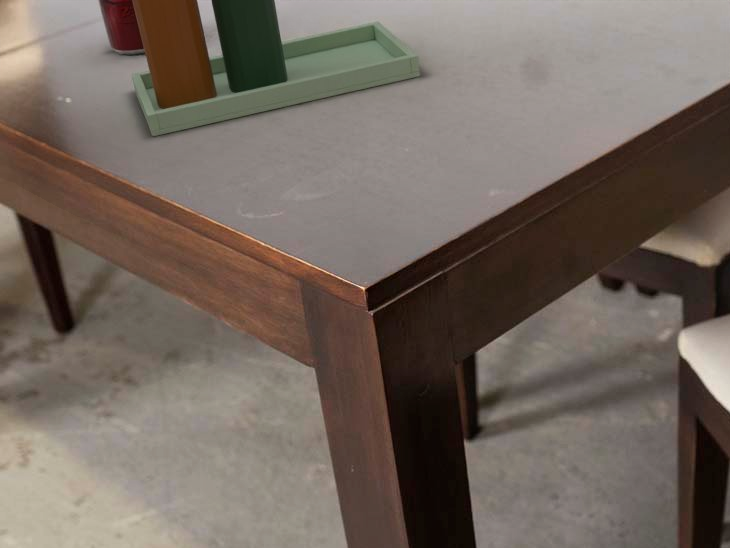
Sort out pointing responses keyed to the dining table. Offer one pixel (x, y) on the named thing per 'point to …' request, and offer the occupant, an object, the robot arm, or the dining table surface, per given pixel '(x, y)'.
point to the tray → (292, 77)
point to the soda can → (122, 26)
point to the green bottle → (250, 43)
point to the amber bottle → (175, 51)
